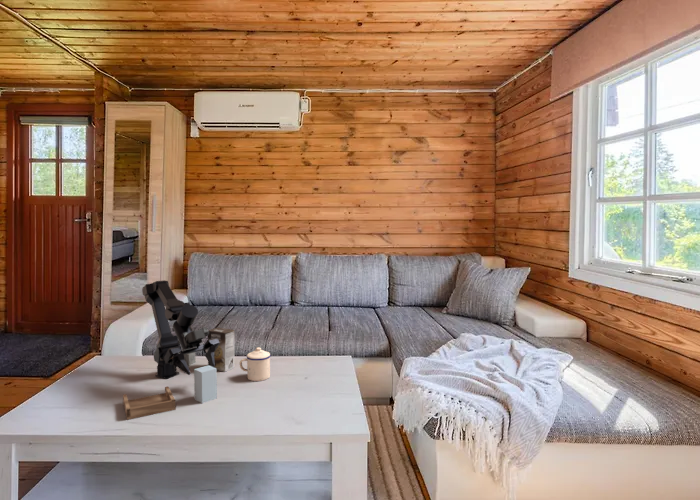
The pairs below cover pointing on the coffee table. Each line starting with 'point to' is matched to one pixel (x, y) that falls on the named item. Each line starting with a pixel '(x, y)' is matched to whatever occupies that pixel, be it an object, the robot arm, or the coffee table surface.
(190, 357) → the dice cube
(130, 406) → the tray
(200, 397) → the tall block
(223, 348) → the coffee box
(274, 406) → the coffee table surface
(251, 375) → the teacup with lid
